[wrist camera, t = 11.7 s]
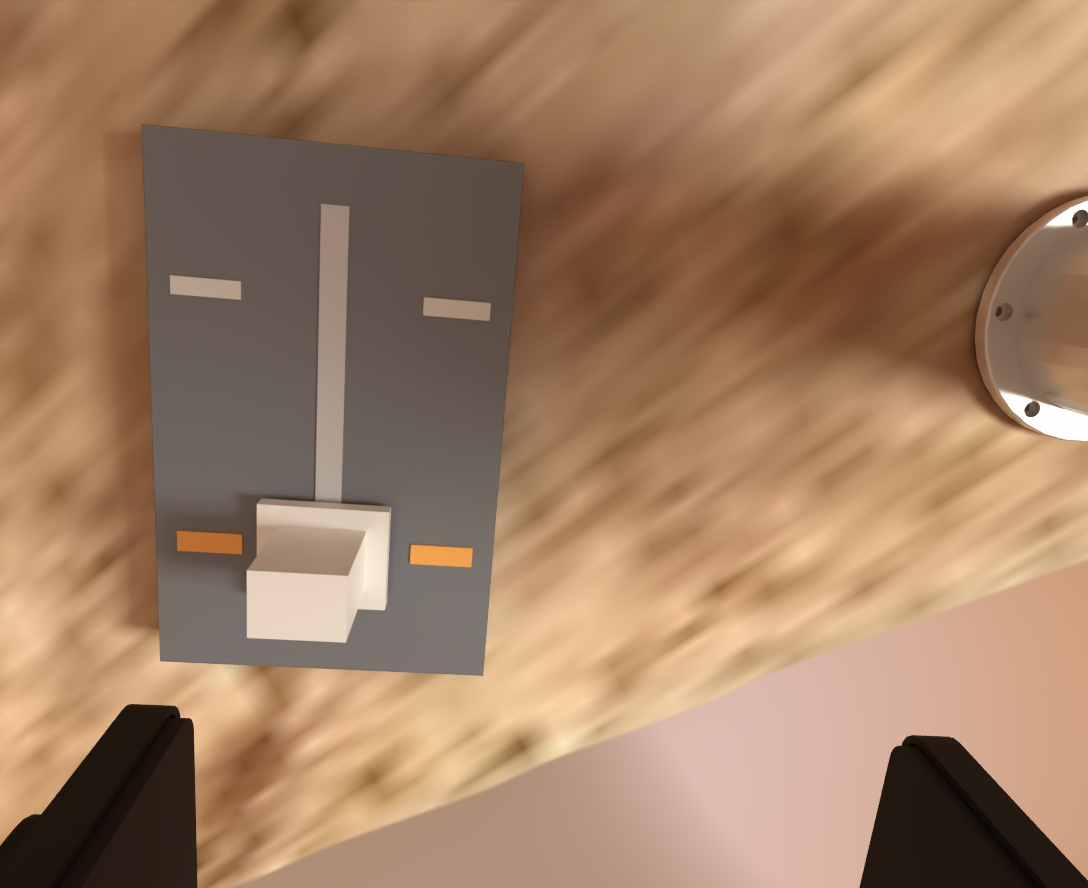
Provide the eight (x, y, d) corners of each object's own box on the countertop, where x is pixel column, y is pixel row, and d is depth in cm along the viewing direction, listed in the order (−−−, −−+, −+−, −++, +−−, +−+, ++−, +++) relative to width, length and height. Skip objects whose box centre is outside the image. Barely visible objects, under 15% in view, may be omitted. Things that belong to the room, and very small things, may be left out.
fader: (391, 506, 37) (373, 554, 32) (386, 602, 38) (369, 665, 33) (261, 498, 37) (220, 545, 31) (261, 596, 38) (222, 658, 32)
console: (521, 169, 37) (524, 163, 34) (483, 646, 43) (482, 676, 40) (169, 133, 36) (140, 123, 33) (182, 631, 42) (159, 662, 39)
